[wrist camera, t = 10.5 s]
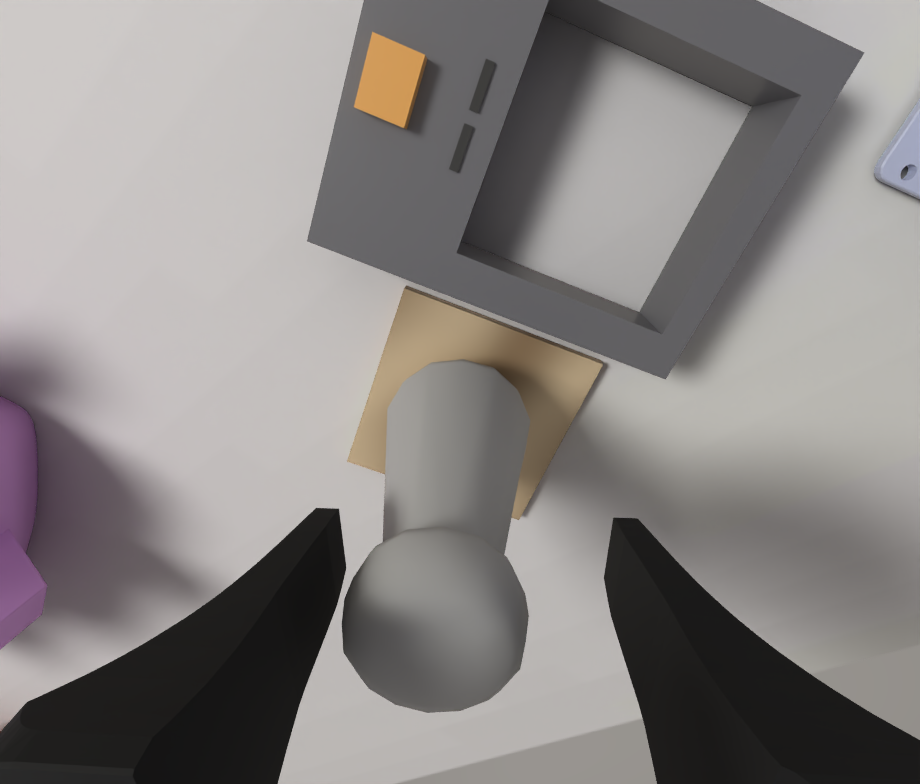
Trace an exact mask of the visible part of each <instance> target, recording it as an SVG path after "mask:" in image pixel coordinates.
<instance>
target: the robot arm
mask: <svg viewBox="0 0 920 784" xmlns="http://www.w3.org/2000/svg"><path fill="white" fill-rule="evenodd" d="M905 166H907V167H908V173H907V175H906V176H905V177H904V178H903V179H901V176H900V173H901V171H902V169H903V168H904V167H905ZM874 174H875V177H876V178H877V179H878V180H879V181H881V182H883V183H885V184H887V185H889V186H892V187H894V188H896V189H898V190H900V191H903V192H905V193H907V194H909V195H911V196H914V197H916V198H918V199H920V99H919V101H918V102H917V104H916V105H915V107H914V108H913V110H912V111H911V113H910V114H909V116H908V117H907V119H906V120H905V122H904V123H903V124H902V126H901V127H900V129H899V130H898V132H897V133H896V135H895V136H894V138H893V139H892V141H891V142H890V144H889V145H888V147H887V148H886V150H885V151H884V153H883V154H882V156H881V157H880V159H879V160H878V162H877V164H876V166H875V171H874ZM345 571H346V562H345V554H344V546H343V538H342V530H341V523H340V515H339V509H327V508H316V509H315V510H314V511H313V512H312V513H310V514H309V515H308V516H307V517H306V518H305V519H304V520H303V521H302V522H301V523H300V524H299V525H298V526H297V527H296V528H295V529H294V530H292V531H291V532H290V533H289V534H288V535H287V536H286V537H285V538H284V539H283V540H282V541H281V542H280V543H279V544H278V545H277V546H275V547H274V548H273V549H272V550H271V551H270V552H269V553H268V554H267V555H266V556H265V557H263V558H262V559H261V560H260V561H259V562H258V563H257V564H256V565H254V566H253V567H252V568H251V569H250V570H248V571H247V572H246V573H245V574H244V575H242V576H241V577H240V578H239V579H238V580H236V581H235V582H234V583H233V584H232V585H230V586H229V587H228V588H227V589H225V590H224V591H223V592H221V593H220V594H219V595H217V596H216V597H215V598H213V599H212V600H211V601H209V602H208V603H206V604H205V605H203V606H202V607H201V608H199V609H198V610H196V611H195V612H194V613H192V614H191V615H189V616H188V617H186V618H185V619H183V620H181V621H180V622H178V623H177V624H175V625H173V626H172V627H170V628H169V629H167V630H165V631H164V632H162V633H161V634H159V635H157V636H156V637H154V638H153V639H151V640H149V641H148V642H146V643H144V644H143V645H141V646H139V647H137V648H136V649H134V650H132V651H130V652H128V653H127V654H125V655H123V656H121V657H119V658H117V659H116V660H114V661H112V662H110V663H108V664H106V665H104V666H102V667H100V668H99V669H97V670H95V671H93V672H91V673H89V674H87V675H85V676H83V677H80V678H78V679H76V680H74V681H72V682H70V683H68V684H65V685H63V686H61V687H59V688H57V689H55V690H53V691H51V692H48V693H46V694H44V695H42V696H40V697H38V698H35V699H33V700H31V701H28V702H27V703H26V704H25V705H24V706H23V707H22V708H21V709H20V710H19V712H18V713H17V714H16V715H15V716H14V717H13V719H12V720H11V721H10V722H9V723H8V724H7V725H6V727H5V728H4V729H3V730H2V731H1V732H0V784H278V780H279V776H280V772H281V768H282V765H283V761H284V757H285V753H286V750H287V746H288V743H289V739H290V736H291V732H292V728H293V725H294V721H295V718H296V714H297V711H298V707H299V704H300V701H301V698H302V696H303V693H304V690H305V687H306V684H307V682H308V679H309V677H310V674H311V671H312V669H313V666H314V664H315V661H316V658H317V656H318V653H319V651H320V648H321V646H322V643H323V640H324V638H325V635H326V633H327V630H328V627H329V625H330V622H331V620H332V617H333V614H334V612H335V609H336V606H337V603H338V599H339V596H340V592H341V588H342V584H343V580H344V575H345ZM604 580H605V586H606V592H607V597H608V603H609V608H610V613H611V617H612V620H613V624H614V627H615V630H616V634H617V637H618V640H619V643H620V646H621V650H622V653H623V656H624V659H625V662H626V665H627V668H628V672H629V675H630V678H631V681H632V684H633V687H634V690H635V694H636V697H637V700H638V703H639V707H640V710H641V714H642V718H643V721H644V725H645V729H646V734H647V739H648V743H649V748H650V752H651V757H652V761H653V766H654V771H655V775H656V781H657V784H920V740H918V739H917V738H915V737H913V736H911V735H909V734H908V733H906V732H904V731H902V730H901V729H899V728H897V727H895V726H893V725H891V724H890V723H888V722H886V721H884V720H883V719H881V718H879V717H877V716H875V715H874V714H872V713H870V712H869V711H867V710H865V709H864V708H862V707H861V706H859V705H857V704H856V703H854V702H852V701H851V700H849V699H848V698H846V697H844V696H843V695H841V694H840V693H838V692H836V691H835V690H833V689H832V688H830V687H829V686H827V685H826V684H824V683H822V682H821V681H819V680H818V679H817V678H815V677H814V676H812V675H811V674H809V673H808V672H806V671H805V670H804V669H802V668H801V667H799V666H798V665H796V664H795V663H794V662H792V661H791V660H789V659H788V658H787V657H785V656H784V655H782V654H781V653H780V652H778V651H777V650H776V649H774V648H773V647H772V646H770V645H769V644H768V643H766V642H765V641H764V640H763V639H761V638H760V637H759V636H758V635H756V634H755V633H754V632H753V631H751V630H750V629H749V628H748V627H746V626H745V625H744V624H743V623H741V622H740V621H739V620H738V619H737V618H736V617H734V616H733V615H732V614H731V613H730V612H729V611H727V610H726V609H725V608H724V607H723V606H722V605H721V604H720V603H719V602H718V601H716V600H715V599H714V598H713V597H712V596H711V595H710V594H709V593H708V592H707V591H706V590H705V589H704V588H703V587H702V586H700V585H699V584H698V583H697V582H696V581H695V580H694V579H693V578H692V577H691V575H690V574H689V573H688V572H687V571H686V570H685V569H684V568H683V567H682V566H681V565H680V564H679V563H678V562H677V561H676V560H675V559H674V558H673V557H672V556H671V555H670V554H669V552H668V551H667V550H666V549H665V548H664V547H663V546H662V545H661V544H660V543H659V542H658V540H657V539H656V538H655V537H654V536H653V535H652V534H651V533H650V532H649V531H648V529H647V528H646V527H645V526H644V525H643V524H642V523H641V522H640V521H639V520H638V519H636V518H613V524H612V530H611V537H610V543H609V549H608V556H607V562H606V568H605V575H604Z"/></svg>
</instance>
